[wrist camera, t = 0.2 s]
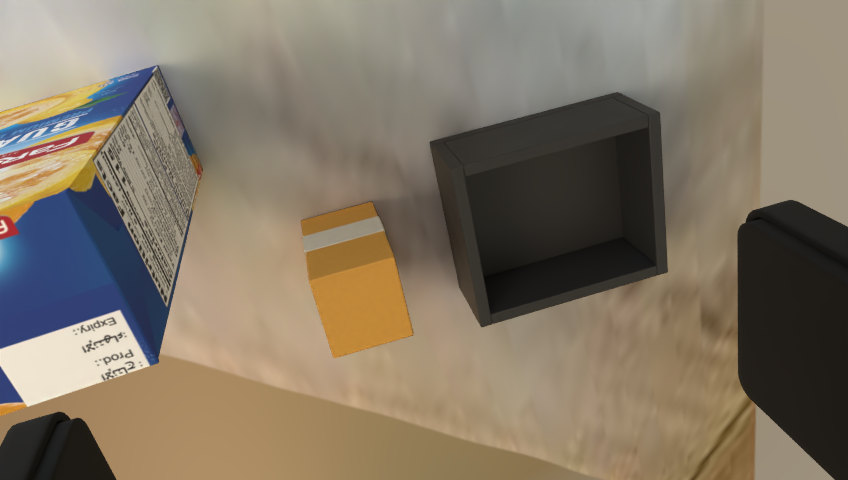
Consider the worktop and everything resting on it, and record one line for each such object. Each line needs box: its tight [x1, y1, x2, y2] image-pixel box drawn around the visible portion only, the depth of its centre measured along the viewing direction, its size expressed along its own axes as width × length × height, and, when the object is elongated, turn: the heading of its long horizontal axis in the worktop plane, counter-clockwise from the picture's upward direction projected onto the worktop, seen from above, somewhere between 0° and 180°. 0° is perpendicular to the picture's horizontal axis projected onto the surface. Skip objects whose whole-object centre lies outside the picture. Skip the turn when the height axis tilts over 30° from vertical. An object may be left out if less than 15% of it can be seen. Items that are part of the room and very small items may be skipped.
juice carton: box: [301, 202, 414, 358], centre depth 45 cm, size 6×5×9 cm
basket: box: [430, 92, 668, 327], centre depth 47 cm, size 14×12×6 cm
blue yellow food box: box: [0, 65, 203, 416], centre depth 33 cm, size 7×11×22 cm, turn 104°
